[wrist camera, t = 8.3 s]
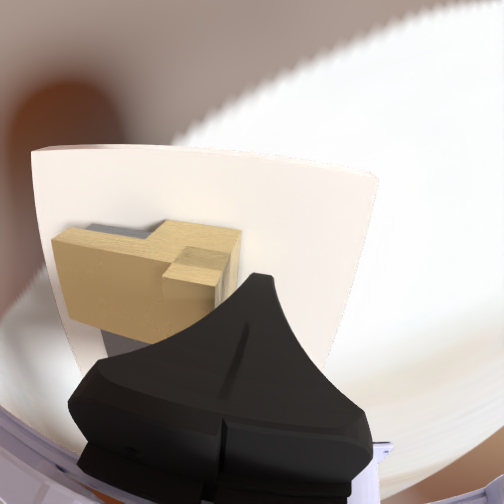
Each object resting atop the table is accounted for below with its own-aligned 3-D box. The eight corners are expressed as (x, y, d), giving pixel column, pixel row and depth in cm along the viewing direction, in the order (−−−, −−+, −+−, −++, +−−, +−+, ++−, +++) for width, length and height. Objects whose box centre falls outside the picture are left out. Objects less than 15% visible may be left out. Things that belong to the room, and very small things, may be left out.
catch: (234, 307, 13) (212, 376, 9) (106, 280, 13) (59, 329, 10) (242, 230, 11) (215, 286, 8) (97, 210, 12) (36, 248, 8)
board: (287, 437, 20) (283, 480, 16) (102, 391, 21) (82, 425, 18) (369, 171, 11) (400, 196, 8) (49, 146, 13) (-5, 162, 9)
